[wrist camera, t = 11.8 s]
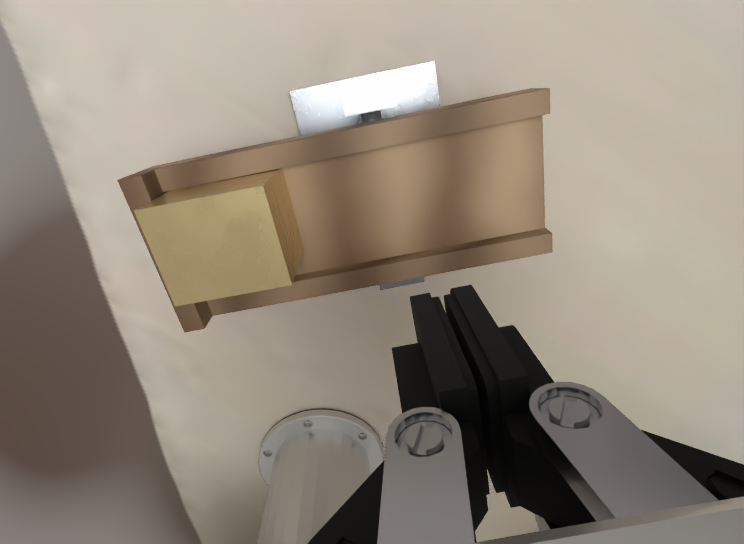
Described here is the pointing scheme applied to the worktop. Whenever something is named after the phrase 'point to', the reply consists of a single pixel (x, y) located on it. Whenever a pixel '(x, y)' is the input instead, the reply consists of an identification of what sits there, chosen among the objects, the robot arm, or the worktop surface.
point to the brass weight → (224, 237)
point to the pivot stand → (367, 105)
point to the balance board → (389, 196)
